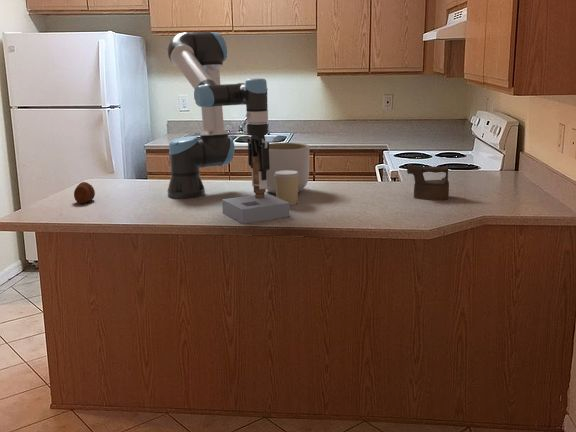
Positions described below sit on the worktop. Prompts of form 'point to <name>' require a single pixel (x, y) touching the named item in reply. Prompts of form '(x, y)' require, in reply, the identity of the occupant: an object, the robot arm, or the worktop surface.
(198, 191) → the robot arm
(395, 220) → the worktop surface
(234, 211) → the board
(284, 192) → the coffee cup
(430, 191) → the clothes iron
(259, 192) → the peg
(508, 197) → the worktop surface
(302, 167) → the planter
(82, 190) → the potato
